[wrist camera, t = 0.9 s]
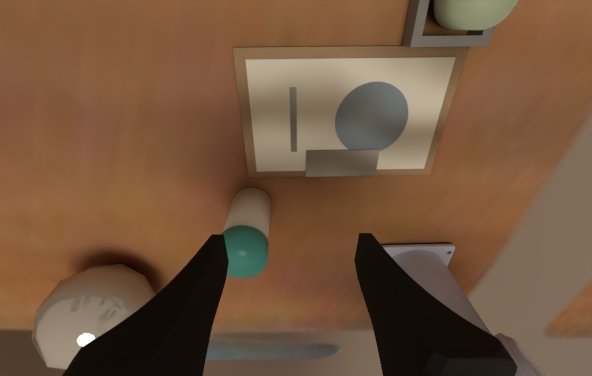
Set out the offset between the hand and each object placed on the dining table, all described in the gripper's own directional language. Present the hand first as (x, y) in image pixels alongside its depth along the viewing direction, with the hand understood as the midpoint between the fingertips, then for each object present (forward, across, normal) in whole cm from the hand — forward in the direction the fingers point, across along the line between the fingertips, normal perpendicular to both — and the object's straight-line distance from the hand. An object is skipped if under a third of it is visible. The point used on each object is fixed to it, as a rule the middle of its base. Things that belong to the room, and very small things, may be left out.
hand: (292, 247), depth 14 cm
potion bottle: (+10, +19, +17) cm, 28 cm away
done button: (+9, -10, -12) cm, 18 cm away
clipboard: (+10, -4, -4) cm, 11 cm away
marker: (+10, +4, +4) cm, 11 cm away
